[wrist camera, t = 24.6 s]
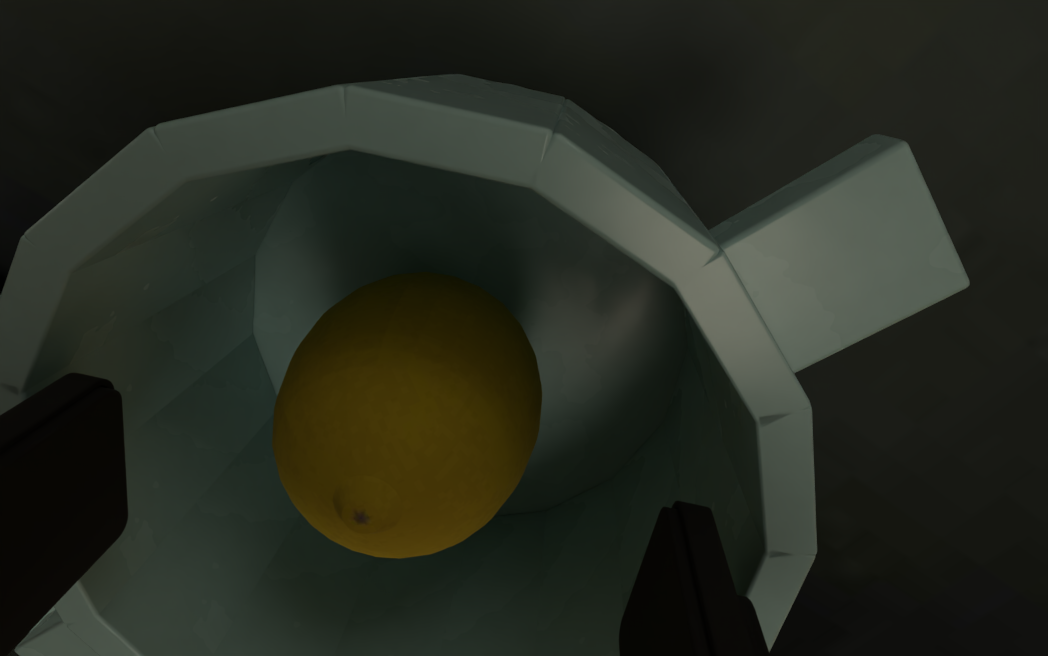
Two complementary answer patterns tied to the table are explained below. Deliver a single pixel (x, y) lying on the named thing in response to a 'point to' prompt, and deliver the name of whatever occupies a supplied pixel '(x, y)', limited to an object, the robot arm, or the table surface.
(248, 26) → the table surface
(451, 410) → the lemon
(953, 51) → the table surface
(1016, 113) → the table surface
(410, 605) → the pot
